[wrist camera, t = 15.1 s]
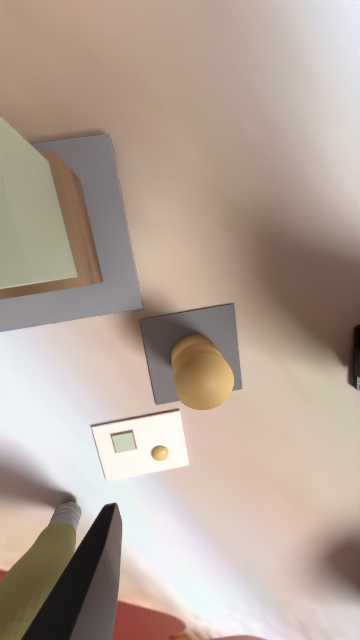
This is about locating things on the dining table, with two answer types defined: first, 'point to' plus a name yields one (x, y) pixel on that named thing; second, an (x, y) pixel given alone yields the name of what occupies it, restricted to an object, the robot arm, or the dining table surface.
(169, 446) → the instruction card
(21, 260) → the sage block
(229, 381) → the ochre peg
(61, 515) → the light bulb
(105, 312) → the plate
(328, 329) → the dining table surface
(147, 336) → the charcoal pad
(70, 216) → the walnut block
